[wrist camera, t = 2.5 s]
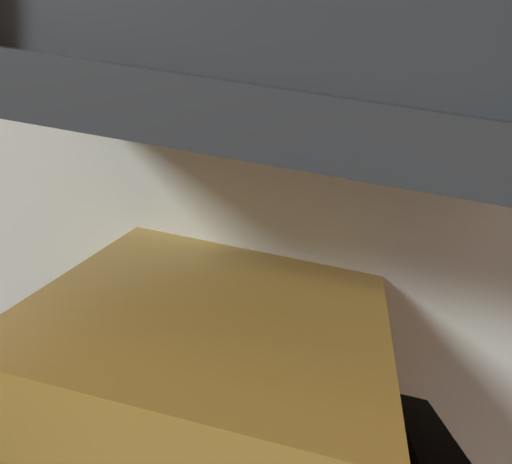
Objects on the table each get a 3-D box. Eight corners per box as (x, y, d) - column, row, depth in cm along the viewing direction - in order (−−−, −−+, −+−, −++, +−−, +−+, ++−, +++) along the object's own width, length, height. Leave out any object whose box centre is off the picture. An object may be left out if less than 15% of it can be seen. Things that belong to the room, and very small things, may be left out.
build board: (491, 590, 12) (503, 633, 11) (-9, 447, 14) (-35, 473, 13) (990, -608, 6) (1119, -748, 5) (-56, -554, 8) (-114, -644, 7)
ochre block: (332, 479, 11) (316, 789, 6) (124, 424, 11) (-37, 661, 7) (382, 276, 9) (412, 478, 4) (136, 226, 10) (-64, 355, 5)
